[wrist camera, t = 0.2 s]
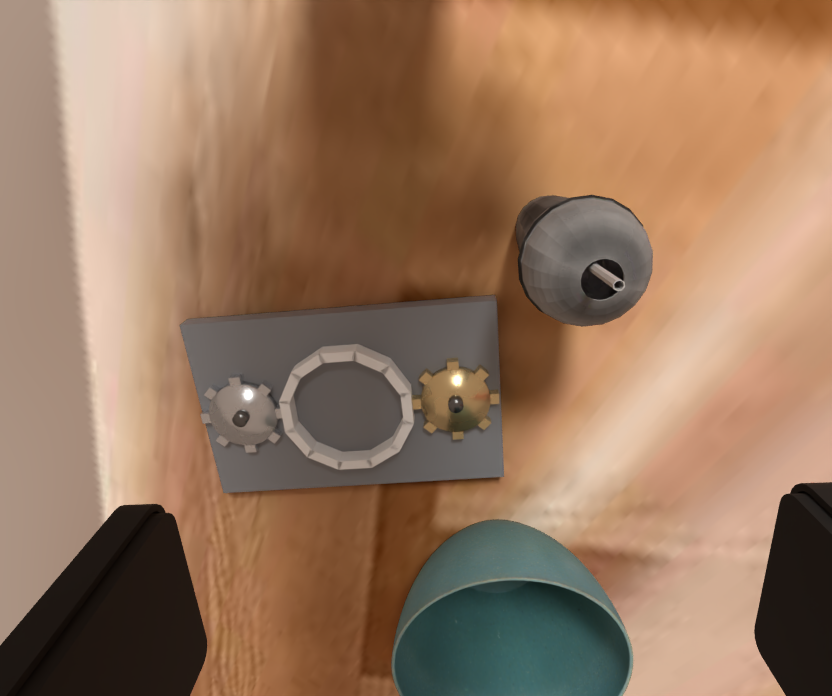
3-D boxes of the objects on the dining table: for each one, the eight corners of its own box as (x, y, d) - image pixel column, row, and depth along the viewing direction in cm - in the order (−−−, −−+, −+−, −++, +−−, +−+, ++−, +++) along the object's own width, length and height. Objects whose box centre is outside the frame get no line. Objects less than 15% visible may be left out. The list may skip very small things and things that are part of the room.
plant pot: (618, 589, 55) (666, 711, 44) (451, 647, 59) (455, 773, 47) (547, 446, 49) (581, 543, 38) (366, 519, 53) (348, 628, 41)
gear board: (187, 319, 46) (171, 331, 43) (494, 294, 44) (498, 306, 41) (229, 483, 52) (217, 503, 49) (502, 466, 50) (506, 487, 47)
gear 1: (195, 376, 46) (187, 385, 45) (279, 370, 46) (273, 378, 44) (214, 449, 49) (207, 460, 47) (293, 444, 48) (289, 455, 47)
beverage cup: (528, 291, 44) (596, 414, 26) (478, 213, 42) (512, 286, 23) (612, 239, 42) (750, 330, 24) (564, 155, 40) (675, 183, 22)
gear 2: (408, 361, 45) (407, 369, 43) (496, 354, 45) (498, 362, 43) (416, 437, 48) (416, 447, 46) (499, 431, 47) (501, 441, 46)
